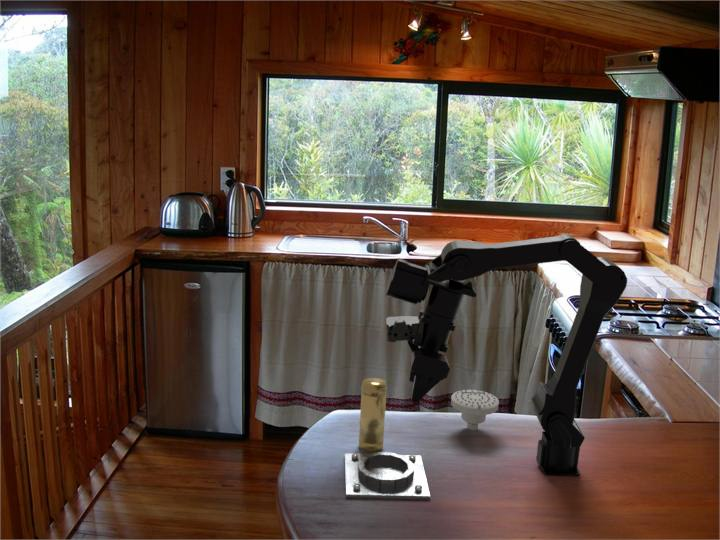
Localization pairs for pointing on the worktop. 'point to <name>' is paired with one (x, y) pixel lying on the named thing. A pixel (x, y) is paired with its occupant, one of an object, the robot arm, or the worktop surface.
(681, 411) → the worktop surface
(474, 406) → the showerhead
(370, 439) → the brass cylinder
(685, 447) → the worktop surface
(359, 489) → the floor flange
